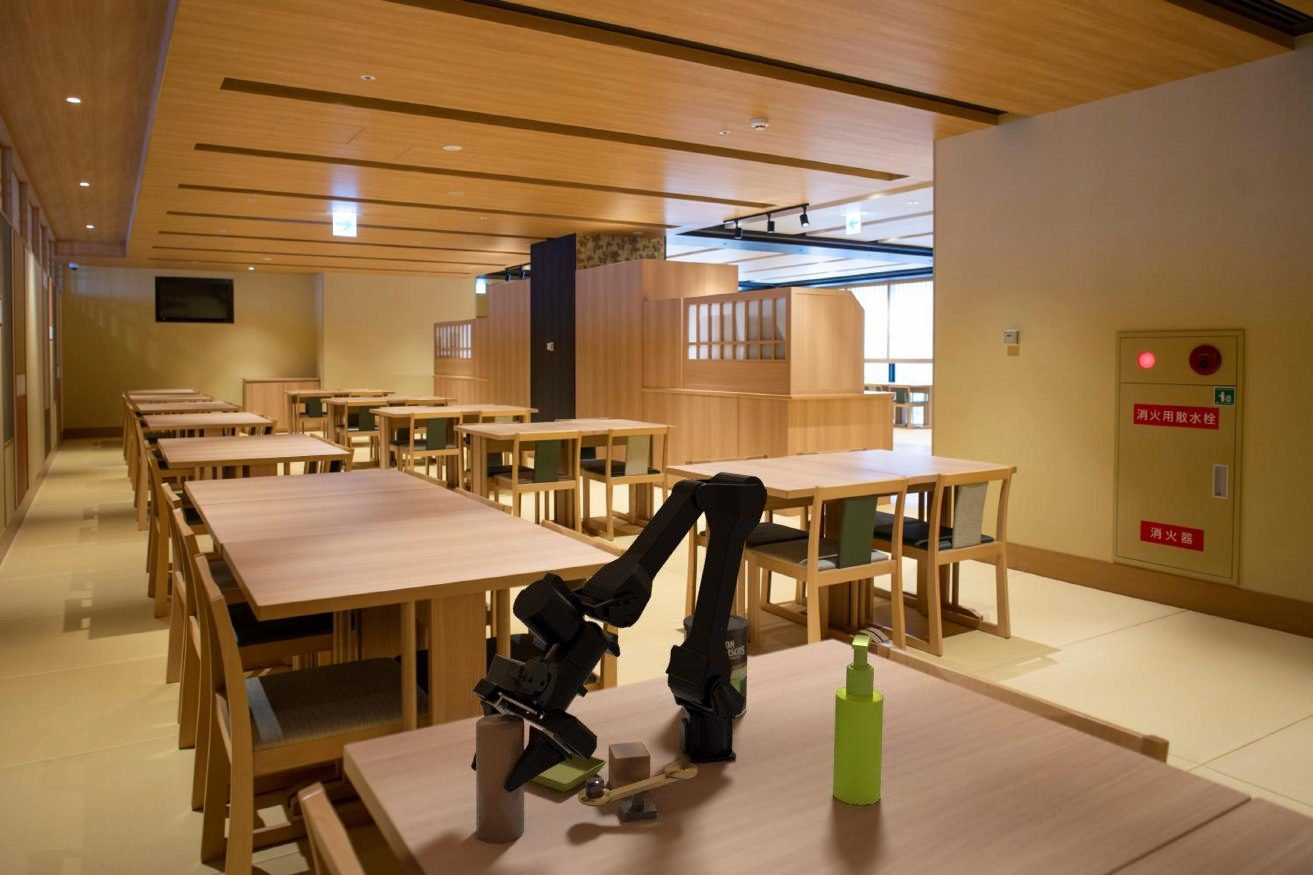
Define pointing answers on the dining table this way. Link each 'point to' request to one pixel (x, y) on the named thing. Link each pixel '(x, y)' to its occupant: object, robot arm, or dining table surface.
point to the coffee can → (733, 652)
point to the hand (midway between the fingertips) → (489, 779)
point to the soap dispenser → (858, 732)
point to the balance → (635, 792)
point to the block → (628, 764)
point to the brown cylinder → (498, 778)
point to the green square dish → (570, 773)
